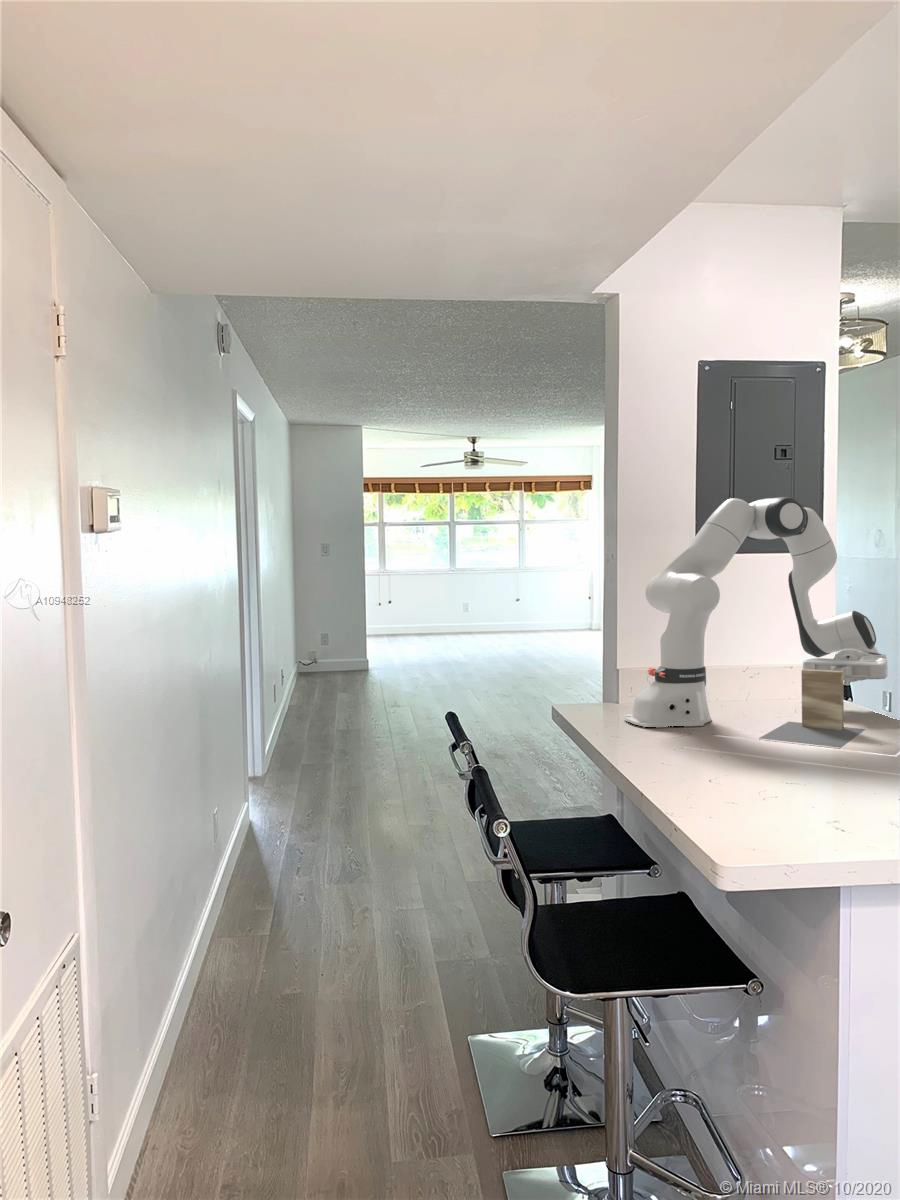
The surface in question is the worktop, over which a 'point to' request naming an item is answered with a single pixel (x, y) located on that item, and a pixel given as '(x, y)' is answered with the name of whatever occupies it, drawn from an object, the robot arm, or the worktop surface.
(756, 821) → the worktop surface
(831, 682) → the flat wooden block
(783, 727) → the rubber mat
